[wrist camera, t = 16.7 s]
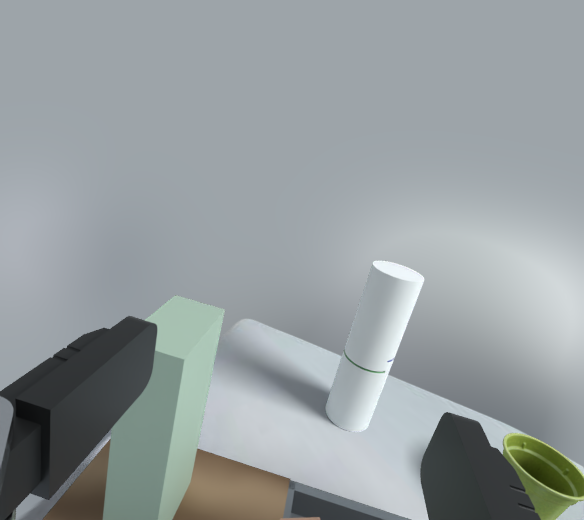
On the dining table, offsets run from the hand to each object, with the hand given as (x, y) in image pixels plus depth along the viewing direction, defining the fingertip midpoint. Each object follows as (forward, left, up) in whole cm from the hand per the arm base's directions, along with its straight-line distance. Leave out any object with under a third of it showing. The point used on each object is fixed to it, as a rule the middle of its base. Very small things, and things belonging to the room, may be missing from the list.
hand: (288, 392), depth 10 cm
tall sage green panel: (-4, -14, -25) cm, 29 cm away
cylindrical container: (-38, -18, -32) cm, 52 cm away
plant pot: (-46, +5, -32) cm, 56 cm away
